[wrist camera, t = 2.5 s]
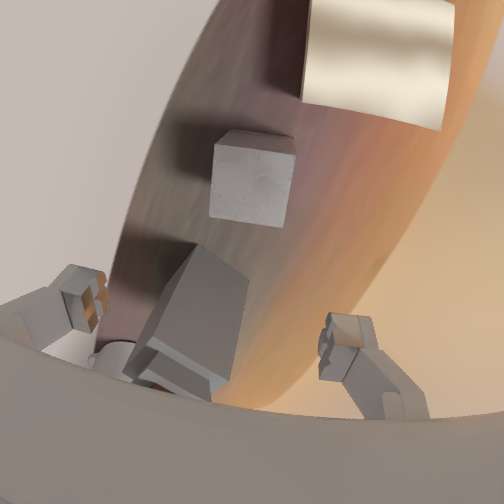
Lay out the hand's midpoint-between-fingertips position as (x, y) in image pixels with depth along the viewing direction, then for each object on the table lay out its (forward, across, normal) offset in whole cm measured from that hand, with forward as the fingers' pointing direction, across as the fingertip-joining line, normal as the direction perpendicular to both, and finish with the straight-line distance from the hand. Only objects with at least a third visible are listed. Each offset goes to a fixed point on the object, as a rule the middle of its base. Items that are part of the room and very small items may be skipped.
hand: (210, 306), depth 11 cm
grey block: (+20, 0, 0) cm, 20 cm away
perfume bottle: (+20, -4, -14) cm, 25 cm away
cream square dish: (+20, +8, +12) cm, 25 cm away
